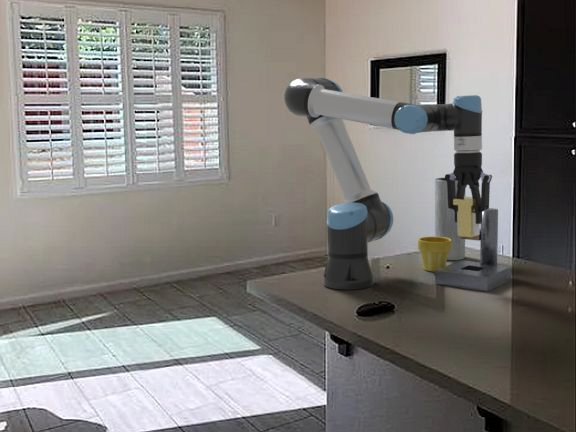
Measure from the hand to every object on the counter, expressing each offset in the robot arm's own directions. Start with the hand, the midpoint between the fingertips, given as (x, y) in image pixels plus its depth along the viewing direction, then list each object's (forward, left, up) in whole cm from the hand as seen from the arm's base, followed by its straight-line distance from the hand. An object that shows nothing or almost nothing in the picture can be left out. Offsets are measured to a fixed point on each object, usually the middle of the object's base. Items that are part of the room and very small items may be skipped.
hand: (468, 234), depth 191 cm
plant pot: (-18, +13, -15) cm, 27 cm away
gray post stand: (-1, +8, -15) cm, 17 cm away
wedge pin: (0, 0, 0) cm, 0 cm away
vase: (-22, +31, -15) cm, 41 cm away
